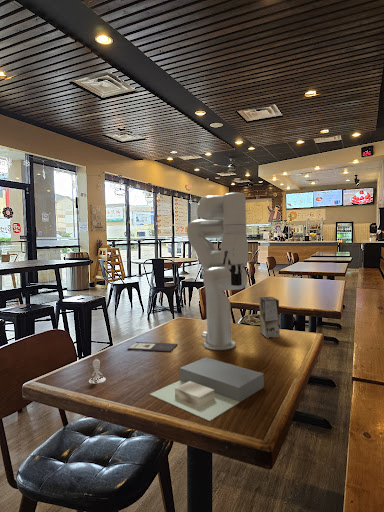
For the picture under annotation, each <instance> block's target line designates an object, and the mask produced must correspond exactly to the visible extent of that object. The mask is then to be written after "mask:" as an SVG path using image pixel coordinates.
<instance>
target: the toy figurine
mask: <svg viewBox="0 0 384 512" xmlns="http://www.w3.org/2000/svg"><path fill="white" fill-rule="evenodd" d="M91 361H92V360H91ZM100 364H101V361H100V360H99V359H98V357H97V356H95V358H94V360H93V361H92V368H93V370H94V371H93V373H92V374H91V375H92V378H93V380H91V379H92V378H90V379H89V380H88V382H89V383H90V384H94V385H95V384H101V383H104V382H105V381H106V379H107V378H106V377H104V376H103V373H101V372H100V367H101V365H100ZM100 375H101V376H100ZM93 376H94V377H93ZM100 377H103V378H101V379H99V378H100ZM97 378H98V380H97ZM95 380H97V381H95ZM94 381H95V382H97V383H95V382H94Z"/></svg>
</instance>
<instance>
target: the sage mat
mask: <svg viewBox="0 0 384 512" xmlns="http://www.w3.org/2000/svg"><path fill="white" fill-rule="evenodd" d="M185 383H187V382H184V381H181V380H180V379H179V380H178V381H175V382H173V383H171V384H168V385H166V386H164V387H162V388H160V389H158V390H155V391H153V392H151V393H149V395H150V396H152V397H154V398H156V399H159V400H160V401H163V402H165V403H166V404H170V405H172V406H174V407H176V408H179V409H181V410H183V411H184V412H187V413H190V414H192V415H194V416H196V417H199V418H201V419H203V420H206V421H208V422H211V421H212V420H215V418H217V417H219V416H221V415H222V414H224V413H225V412H227V411H228V410H230V409H232V408H234V407H235V406H237V405H238V404H239V402H238V401H236V400H233V399H230V398H227V397H225V396H222V395H219V394H216V393H214V395H215V399H213V400H212V401H210V402H208V403H206V404H205V405H203V406H201V407H198V406H195V405H193V404H190V403H188V402H186V401H183V400H181V399H179V398H176V397H175V388H176V387H178V386H180V385H182V384H185Z"/></svg>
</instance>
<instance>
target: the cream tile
mask: <svg viewBox="0 0 384 512" xmlns="http://www.w3.org/2000/svg"><path fill="white" fill-rule="evenodd" d="M175 397H176V398H179V399H181V400H183V401H186V402H188V403H190V404H193V405H195V406H198V407H201V406H203V405H205V404H206V403H208V402H210V401H212V400H213V399H215V395H214V389H211V388H208V387H205V386H203V385H200V384H197V383H194V382H191V381H189V382H187V383H185V384H182V385H180V386H178V387H176V388H175Z"/></svg>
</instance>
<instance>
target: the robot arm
mask: <svg viewBox="0 0 384 512" xmlns="http://www.w3.org/2000/svg"><path fill="white" fill-rule="evenodd" d="M246 200H247V199H246V195H245V193H242V192H229V193H228V192H227V193H225V194H223V195H221V194H220V195H206V196H203V197H201V198H200V200H199V203H198V206H197V209H196V212H197V215H198V217H199V219H194V220H192V221H190V222H189V223H188V224H187V227H186V236H187V239H188V241H189V243H190V245H191V247H192V249H193V250H194V251H195V253H196V255H197V257H198V260H199V262H200V266H201V268H202V269H203V276H202V278H203V279H202V280H203V282H202V283H203V286H204V292H205V303H206V304H205V306H206V308H205V309H206V331H203V332H202V333H201V334H200V337H201V338H202V339H205V340H204V342H203V346H204V348H206V349H208V350H212V351H213V350H214V351H227V350H230V349H231V350H232V349H233V348H235V347H236V342H235V341H234V340H233V339H232V322H231V321H232V320H231V300H230V299H229V297H228V296H227V295H226V294H225V292H226V291H234V290H241V289H245V288H246V287H247V284H248V274H247V271H246V269H245V268H246V267H247V263H248V262H249V258H250V257H249V255H250V253H249V243H248V236H247V213H246V212H247V209H246V208H247V205H246V204H247V203H246ZM218 238H221V243H220V244H221V245H220V249H217V247H216V246H215V244H214V243H213V242H212V241H211V240H209V239H218Z"/></svg>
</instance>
